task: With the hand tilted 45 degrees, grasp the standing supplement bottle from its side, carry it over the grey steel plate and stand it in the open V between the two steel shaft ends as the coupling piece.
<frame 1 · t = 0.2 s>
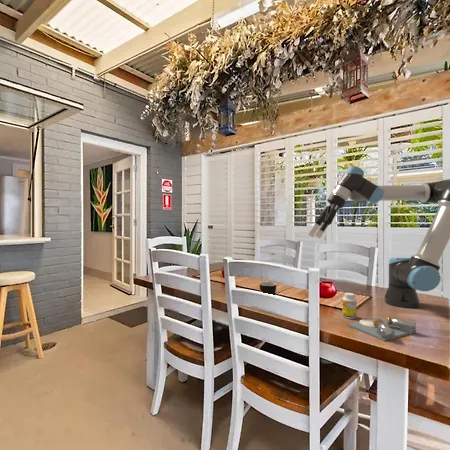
hand: (313, 236, 136), 34 cm above the table, tool tilted 30°, fingers open, 13 cm apart
coffee mug: (267, 303, 149), on the table
coupling plate: (371, 325, 118), on the table
shaft 2: (401, 331, 112), resting on coupling plate
shaft 1: (383, 335, 108), resting on coupling plate
supplement bottle: (349, 317, 128), on the table
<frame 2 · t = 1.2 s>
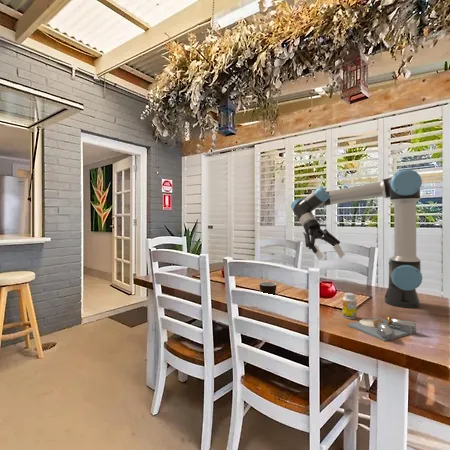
hand: (332, 257, 136), 25 cm above the table, tool tilted 45°, fingers open, 13 cm apart
nothing on the table moved.
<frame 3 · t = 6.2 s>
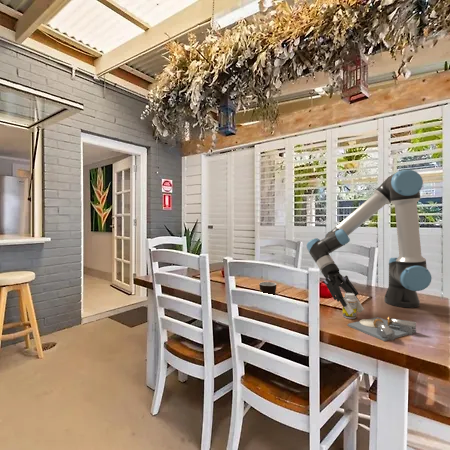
hand: (356, 311, 125), 3 cm above the table, tool tilted 45°, fingers closed on supplement bottle, 6 cm apart
supplement bottle: (349, 317, 128), on the table, touching gripper
everything else where it was.
when the fingers open (6 cm above the table, at t = 11.0 s): supplement bottle drops 1 cm, resting on coupling plate.
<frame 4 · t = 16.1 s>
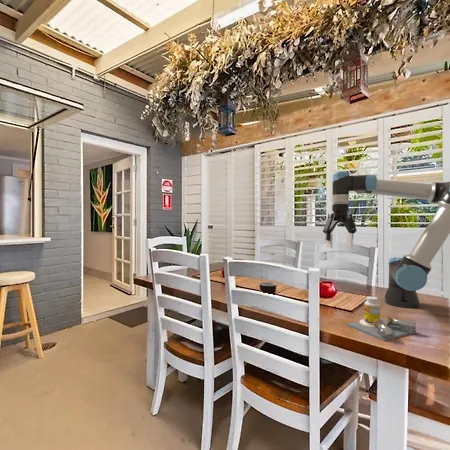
hand: (339, 246, 145), 29 cm above the table, tool pointing down, fingers open, 13 cm apart
supplement bottle: (371, 323, 118), point 1 cm above the table, touching coupling plate
everything else where it was.
at the end: supplement bottle inside the target area on the coupling plate (0.1 cm from its centre), point 0.8 cm above the coupling plate's base; supplement bottle tilted 0°; the gripper is holding nothing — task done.
